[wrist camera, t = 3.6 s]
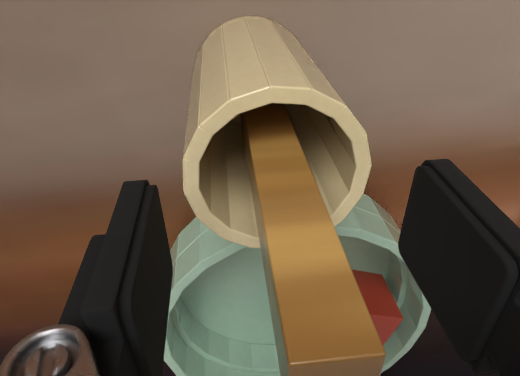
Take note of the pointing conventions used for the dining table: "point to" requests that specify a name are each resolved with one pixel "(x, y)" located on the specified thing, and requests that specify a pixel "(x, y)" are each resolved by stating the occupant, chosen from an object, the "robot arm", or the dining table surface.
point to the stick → (304, 259)
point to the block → (379, 303)
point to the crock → (253, 96)
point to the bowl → (256, 297)
